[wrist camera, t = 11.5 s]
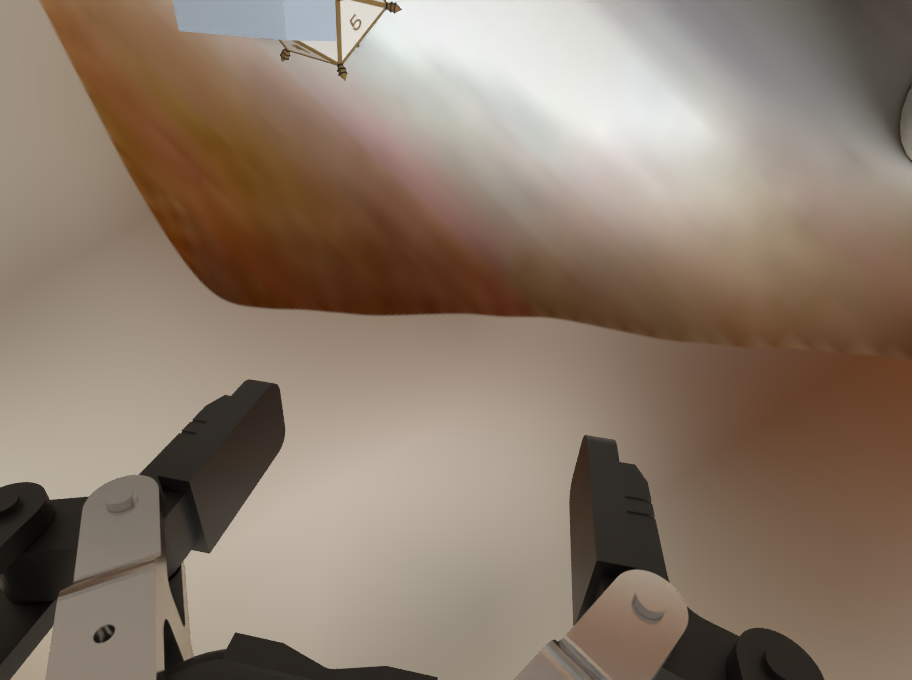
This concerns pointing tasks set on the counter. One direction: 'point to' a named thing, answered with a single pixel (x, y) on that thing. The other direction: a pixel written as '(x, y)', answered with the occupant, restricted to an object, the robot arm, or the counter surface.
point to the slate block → (259, 18)
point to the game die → (342, 32)
